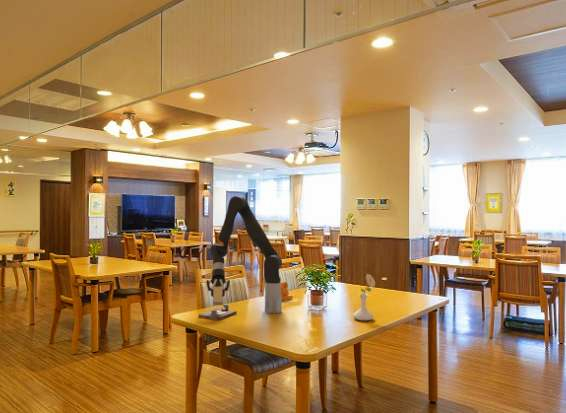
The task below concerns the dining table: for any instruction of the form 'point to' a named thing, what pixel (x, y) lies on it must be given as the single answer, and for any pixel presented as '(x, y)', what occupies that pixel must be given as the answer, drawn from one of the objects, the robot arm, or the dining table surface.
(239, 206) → the robot arm
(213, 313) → the driven shaft
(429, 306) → the dining table surface
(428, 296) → the dining table surface
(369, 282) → the flower in vase
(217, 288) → the coupler
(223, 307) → the drive shaft
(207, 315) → the coupling base
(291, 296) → the bracket
